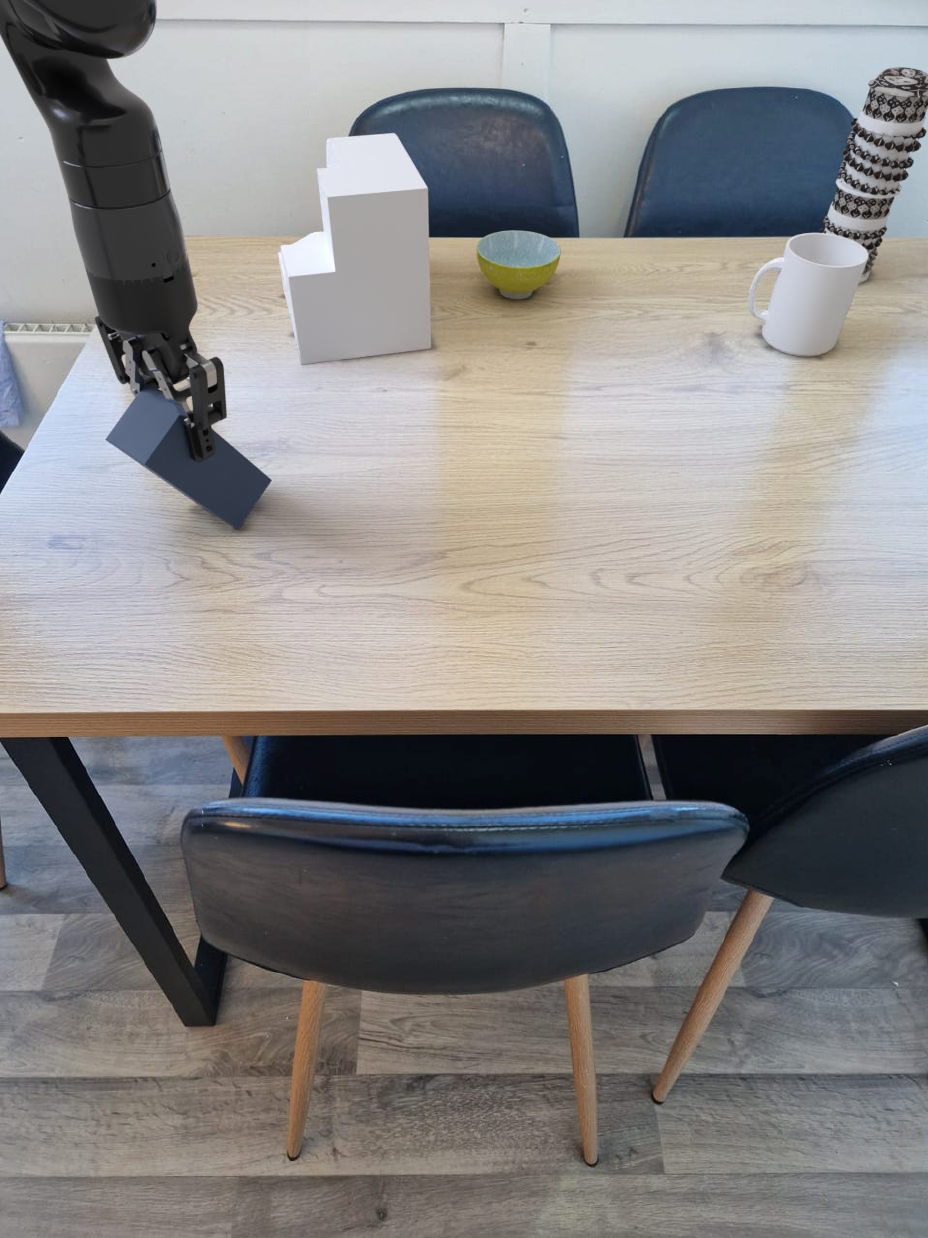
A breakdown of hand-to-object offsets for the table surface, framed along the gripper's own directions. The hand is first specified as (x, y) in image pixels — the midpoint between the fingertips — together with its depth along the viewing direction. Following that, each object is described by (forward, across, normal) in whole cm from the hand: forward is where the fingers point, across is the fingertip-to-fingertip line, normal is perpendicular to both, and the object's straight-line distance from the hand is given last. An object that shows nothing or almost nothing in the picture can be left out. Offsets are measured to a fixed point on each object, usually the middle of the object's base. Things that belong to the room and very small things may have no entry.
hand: (182, 443), depth 75 cm
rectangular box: (+4, 0, -2) cm, 4 cm away
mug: (+8, +29, +72) cm, 78 cm away
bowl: (+8, -6, +60) cm, 61 cm away
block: (+9, -20, +41) cm, 47 cm away
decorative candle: (+7, +26, +95) cm, 99 cm away
